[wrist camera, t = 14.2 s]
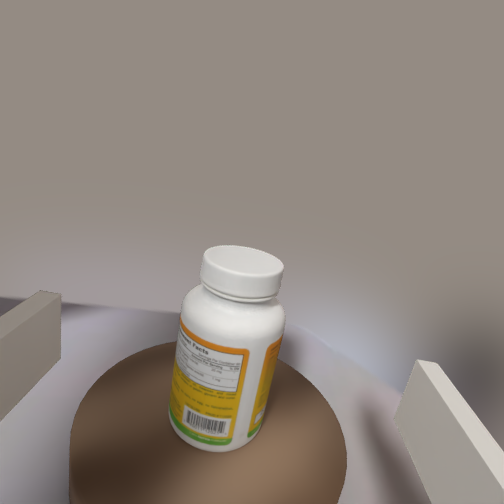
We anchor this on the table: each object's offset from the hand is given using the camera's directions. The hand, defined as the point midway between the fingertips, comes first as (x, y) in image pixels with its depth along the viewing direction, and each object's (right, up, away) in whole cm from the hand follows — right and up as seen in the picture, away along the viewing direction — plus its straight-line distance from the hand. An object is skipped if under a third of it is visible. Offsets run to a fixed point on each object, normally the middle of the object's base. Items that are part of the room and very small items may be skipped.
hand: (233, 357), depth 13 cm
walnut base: (-2, -8, +8) cm, 12 cm away
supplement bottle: (-1, -6, +7) cm, 9 cm away
